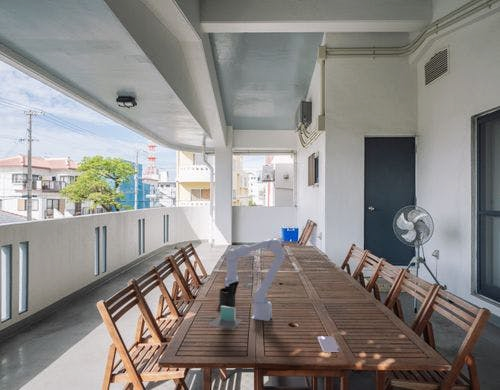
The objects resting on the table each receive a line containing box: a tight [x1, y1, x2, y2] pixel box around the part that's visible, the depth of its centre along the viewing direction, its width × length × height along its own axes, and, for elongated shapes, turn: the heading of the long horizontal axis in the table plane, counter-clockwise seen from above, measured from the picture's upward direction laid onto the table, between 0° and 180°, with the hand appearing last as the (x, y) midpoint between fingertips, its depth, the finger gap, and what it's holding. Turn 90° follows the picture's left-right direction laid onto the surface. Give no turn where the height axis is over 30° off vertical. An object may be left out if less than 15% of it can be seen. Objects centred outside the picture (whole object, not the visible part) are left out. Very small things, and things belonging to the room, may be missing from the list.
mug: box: [218, 287, 236, 307], centre depth 196 cm, size 9×12×9 cm
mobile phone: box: [317, 335, 340, 354], centre depth 148 cm, size 8×1×15 cm
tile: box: [220, 306, 237, 322], centre depth 174 cm, size 8×1×7 cm, turn 71°
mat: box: [208, 315, 243, 330], centre depth 171 cm, size 14×13×1 cm
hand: (231, 295), depth 182 cm, fingers open, 4 cm apart
